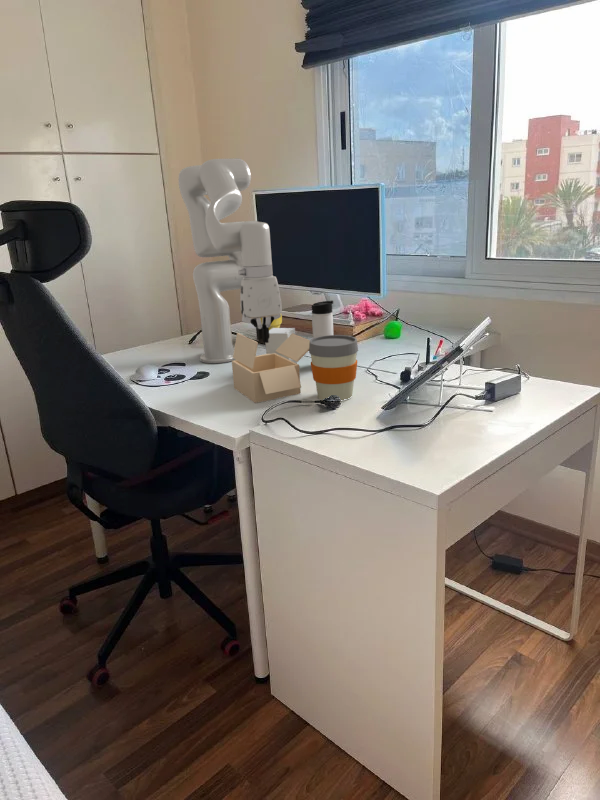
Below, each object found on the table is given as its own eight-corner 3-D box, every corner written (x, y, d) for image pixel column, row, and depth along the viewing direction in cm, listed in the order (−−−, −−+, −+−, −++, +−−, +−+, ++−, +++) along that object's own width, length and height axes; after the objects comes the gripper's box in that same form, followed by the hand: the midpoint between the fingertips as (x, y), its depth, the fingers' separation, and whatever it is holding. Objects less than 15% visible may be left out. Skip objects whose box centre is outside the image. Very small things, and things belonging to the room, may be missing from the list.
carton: (229, 384, 173) (226, 357, 170) (271, 376, 178) (269, 350, 175) (261, 407, 153) (258, 376, 150) (307, 397, 159) (305, 367, 156)
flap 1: (258, 342, 153) (256, 342, 153) (253, 369, 154) (252, 369, 154) (238, 333, 165) (237, 332, 164) (234, 358, 166) (233, 357, 166)
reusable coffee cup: (324, 407, 150) (321, 349, 146) (303, 393, 161) (300, 339, 157) (368, 398, 155) (367, 341, 150) (345, 386, 166) (343, 332, 161)
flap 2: (292, 333, 172) (293, 334, 172) (275, 350, 171) (276, 351, 171) (315, 342, 161) (315, 343, 161) (296, 360, 160) (297, 361, 160)
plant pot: (287, 338, 225) (285, 311, 221) (276, 344, 215) (274, 317, 212) (262, 337, 228) (260, 311, 225) (250, 343, 219) (248, 317, 216)
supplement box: (298, 368, 185) (296, 327, 181) (290, 375, 179) (287, 333, 175) (275, 367, 188) (273, 327, 184) (266, 373, 181) (263, 332, 177)
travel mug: (334, 368, 183) (331, 302, 176) (312, 368, 184) (309, 303, 177) (337, 363, 188) (334, 299, 182) (316, 363, 190) (313, 299, 183)
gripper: (236, 276, 149) (242, 349, 155) (290, 270, 155) (294, 340, 161) (225, 274, 155) (232, 344, 161) (278, 268, 161) (282, 335, 167)
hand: (263, 342), depth 161 cm, fingers closed
